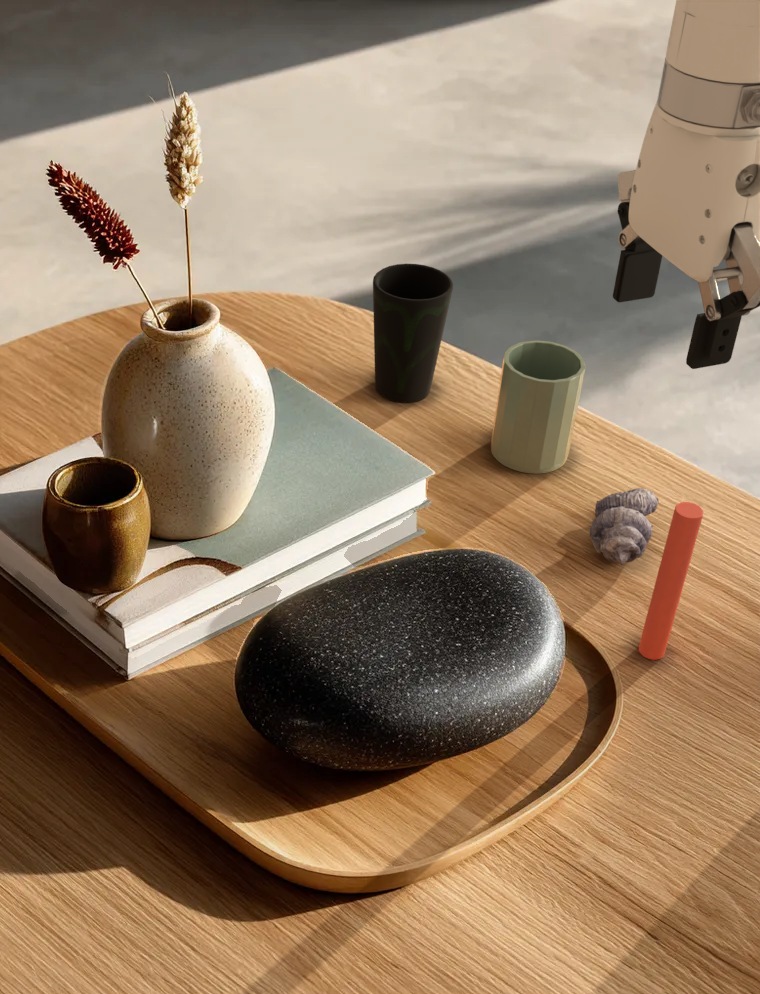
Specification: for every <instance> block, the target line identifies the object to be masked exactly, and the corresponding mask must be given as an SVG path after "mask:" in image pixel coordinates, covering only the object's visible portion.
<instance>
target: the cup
mask: <svg viewBox="0 0 760 994" xmlns="http://www.w3.org/2000/svg"><path fill="white" fill-rule="evenodd" d="M453 290H454V283H453V281H452V278H451V277H450V276H449V275H448V274H446V273H445V272H444V271H442V270H440V269H439V268H436V267H433V266H430V265H426V264H420V263H398V264H393V265H389V266H386V267H383V268H381V269H380V270H378V271H377V272H376V273H375V274H374V276H373V279H372V302H373V303H372V306H373V309H372V310H373V347H374V348H373V351H374V352H373V353H374V355H373V357H374V388H375V391H376V393H377V394H378V395H379V396H381V397H382V398H384V399H386V400H388V401H390V402H395V403H403V404H410V403H416V402H420V401H422V400H424V399H426V398H427V397H428V396H429V394H430V393H431V389H432V388H431V387H432V384H433V379H434V375H435V371H436V366H437V361H438V358H439V353H440V352H439V351H440V349H441V348H440V347H441V343H442V340H443V335H444V330H445V325H446V321H447V318H448V314H449V313H448V311H449V308H450V303H451V299H452V295H453Z"/></svg>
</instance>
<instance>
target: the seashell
mask: <svg viewBox="0 0 760 994" xmlns="http://www.w3.org/2000/svg"><path fill="white" fill-rule="evenodd" d="M655 495H656V494H655V492H654V491H652V490H649V489H648V488H643V487H641V488H640V487H638V488H633V489H629V490H627V491H623V492H622V491H619V492H616V493H611V494H609V495H607V496H605V497H603V498H601V499H599V500H596V502H595V506H594V507H595V508H594V517H595V518H594V519H593V520H592V522H591V524H590V527H589V530H588V531H589V535H588V536H589V538H590V540H591V542H592V545H593V548H594V549H595V551H596V552H597V553H599V554H600V553H602V556H603V557H604V558H605V559H606V560H607V561H609V563H613V564H620V565H623V564H624V563H631V562H634V561H635V560H637V559H638V558H641V557H642V556H643V555H644V553H645V551H646V548H647V544H648V543H649V541H650V540H651V539H652V537H653V524H651V522H650V521H649V519H648V518H647V516H649V515H651V514H653V513H655V512H656V510H657V507H658V505H659V498H658V497H656V496H655Z"/></svg>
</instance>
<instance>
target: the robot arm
mask: <svg viewBox="0 0 760 994" xmlns="http://www.w3.org/2000/svg"><path fill="white" fill-rule="evenodd" d="M667 41H668V42H667V47H666V53H665V58H664V62H663V67H662V72H661V78H660V84H659V88H658V93H657V99H656V102H655V105H654V107H653V110H652V113H651V116H650V119H649V122H648V125H647V128H646V131H645V134H644V137H643V141H642V145H641V148H640V152H639V156H638V159H637V164H636V168H635V169H633V170H627V171H622V172H619V174H618V175H617V186H618V187H617V188H618V198H619V202H620V203H619V204H618V205H617V215H618V218H619V222H620V226H621V231H620V232H619V233H618V237H617V241H618V242H617V243H618V245H619V247H620V248H621V249H622V250H620V254H619V258H618V259H619V260H618V266H617V270H616V275H615V281H614V286H613V292H612V299H614V301H616V302H617V303H625V302H632V301H638V300H645V299H650V298H653V297H654V296H655V294H656V289H657V284H658V279H659V275H660V270H661V265H662V260H663V257H664V258H665V259H666V260H667V261H669V262H670V263H671V264H672V265H674V266H675V267H676V268H678V269H679V270H680V271H681V272H683V273H684V274H685V275H687V276H688V277H689V278H691V279H693V280H695V281H697V283H698V287H699V288H698V289H699V293H700V297H701V298H700V299H701V302H702V307H703V312H702V313H697V314H696V317H695V320H694V325H693V329H692V332H691V338H690V340H689V341H690V342H689V346H688V350H687V355H686V359H685V364H686V365H687V366H688V367H689V368H690V369H692V370H696V369H697V370H698V369H702V368H708V367H714V366H719V365H724V364H727V363H729V362H730V361H731V359H732V357H733V354H734V353H733V352H734V349H735V344H736V340H737V338H738V334H739V328H740V325H741V321H742V318H743V316H744V317H745V316H749V314H750V313H751V312H752V311H753V310H756V309H757V308H759V307H760V0H675V5H674V10H673V16H672V22H671V25H670V32H669V37H668V40H667ZM724 261H725V265H726V268H719V269H718V268H717V267H719V265H720V264H721V263H722V262H724ZM714 268H717V269H714ZM721 281H727V285H728V290H729V294H727V295H725V296H723V297H722V298H720V293H719V287H718V283H717V282H721Z"/></svg>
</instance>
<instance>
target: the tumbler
mask: <svg viewBox="0 0 760 994" xmlns="http://www.w3.org/2000/svg"><path fill="white" fill-rule="evenodd" d="M585 372H586V363H585V359H584V358H583V357H582V356H581V355H580V354H579V352H578V351H576V350H574V349H572V348H570V347H569V346H567V345H565V344H561V343H558V342H553V341H549V340H537V339H536V340H527V341H526V340H525V341H519V342H518V343H515V344H513V345H511V346H509V347H508V349H506V351H505V352H504V353H503V359H502V366H501V371H500V379H499V384H498V385H499V386H498V393H497V398H496V399H497V400H496V406H495V413H494V418H493V426H492V431H491V438H490V441H491V443H490V451H491V454H492V456H493V458H494V459H495V460H496V461H497V462H498V463H499V464H501V465H502V466H504V467H506V468H509V469H511V470H514V471H516V472H520V473H525V474H535V475H536V474H546V473H547V474H548V473H552V472H555V471H556V470H559V469H560V468H562V467H563V466H564V465H565V463H566V462H567V460H568V456H569V454H570V450H571V444H572V439H573V434H574V429H575V424H576V420H577V419H576V418H577V415H578V414H577V413H578V408H579V402H580V397H581V393H582V389H583V382H584V379H585V378H584V377H585Z"/></svg>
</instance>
